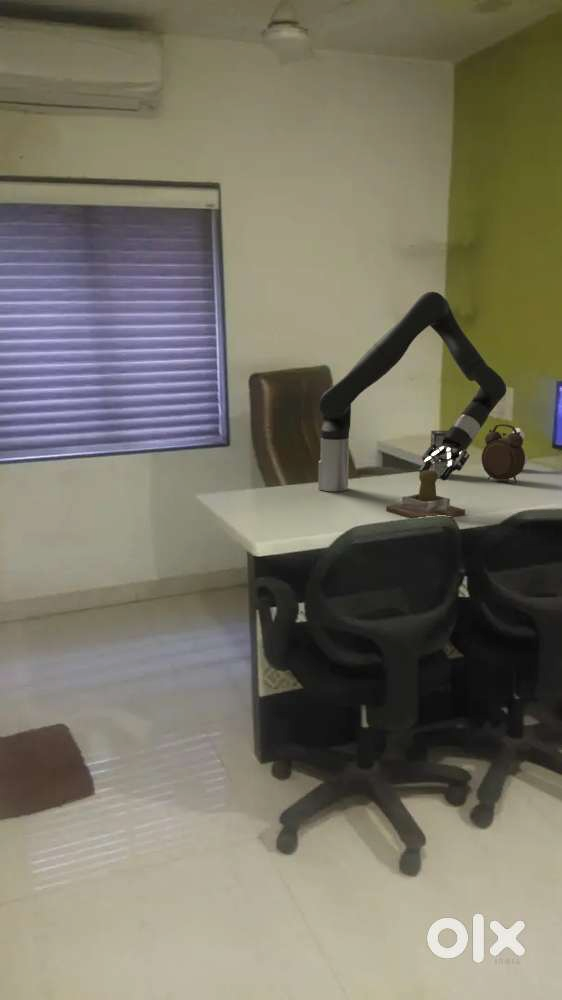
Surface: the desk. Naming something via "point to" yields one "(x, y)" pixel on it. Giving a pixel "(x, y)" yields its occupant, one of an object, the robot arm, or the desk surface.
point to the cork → (427, 486)
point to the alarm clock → (503, 454)
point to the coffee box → (437, 467)
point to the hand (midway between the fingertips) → (431, 476)
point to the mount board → (424, 507)
